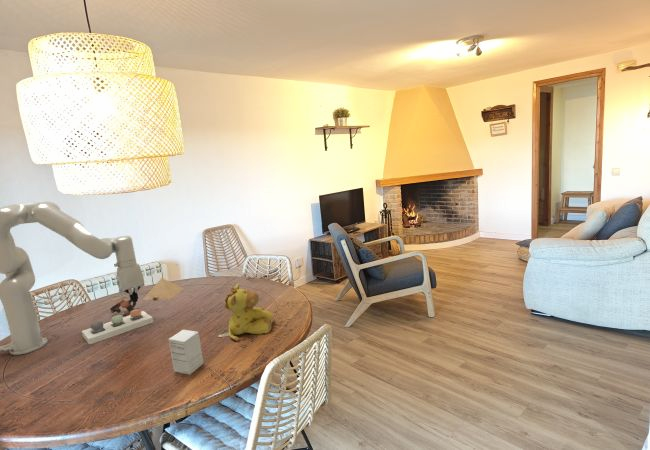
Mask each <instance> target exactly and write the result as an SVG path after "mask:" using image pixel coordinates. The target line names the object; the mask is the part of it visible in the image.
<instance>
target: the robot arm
mask: <svg viewBox="0 0 650 450" xmlns="http://www.w3.org/2000/svg"><path fill="white" fill-rule="evenodd" d="M34 223H35V224H36V223H39V224H40V225H42V226H43V227H46V228H47V229H49V230H51V231H52V232H54V233H56V234H58V235H59V236H61V237H63V238H64V239H66V240H67V241H68V242H70V244H72V245H74V247H76V248H78V249H79V250H81V251H83V252H84V253H86V254H88V255H89V256H92V257H94V259H95V258H96V259H99V260H106V259H108V258H110V257H111V256H112V254H114V253H115V257H116V259H115V260H116V263H114V264H113V266H114V268H116V278H117V286H118V292H119V293H121V294H123V293H127V294H128V295H129V300H131V301H133V302H136V303H137V302H138V301H139V300H138V299H139V295H138V293H139V291H140V290H141V288H143V287H144V286H145V278H144V274H143V271H142V269H141V268H142V267H141V266H140V263H137V259H136V254H135V248H134V243H133V238H132V237H131V236H130V235H122V236H117V237H109V238H108V237H107V238H98V237H97V236H95V235H93V234H92V233H90V231H88V230H87V229H86V228H85V227H84V225H83V224H82V223H81V221H79V220H77V219H76V218H74V217H72V216H71V215H69V214H67V213H66V212H64V211H62V210H61V208H60V207H59V206H58V204H56V203H55V202H51V201H41V202H31V203H30V202H29V203H16V204H15V203H14V204H10V205H5V206H2V207H0V274H1V275H5V278H4V279H3V280H2V281H1V282H0V302H1V305H2V307H3V310H4V311H3V312H4V313H5V317H6V321H7V325H8V330H9V333H10V338H11V339H10V342H8V344H4V345H0V352H2V351H3V352H6V351H7V352H8V351H9V353H10V354H11V355H14V356H17V355H18V356H19V355H23V354H24V355H26V354H29V353H31V352H34V351H36V350H39V349H41V348H43V347H44V346H46V345H47V344H48V341H49V340H48V338H46V337H43V336H42V331H41V329H40V328H41V327H40V323H39V319H38V314H37V310H36V306H35V302H34V300H33V298H32V295H31V293H30V292H31V291H30V290H32V288H33V287H34V285H35V282H36V276H35V273H34V270H33V266H32V263H31V260H30V257H29V255H28V253H27V251H26V250H25V249H23V248H22V247H19V246H16V243H15V239H14V236H13V235H12V233H11V229H12V228H15V227H16V226H20V225H25V224H34ZM133 302H132V303H133Z"/></svg>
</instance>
